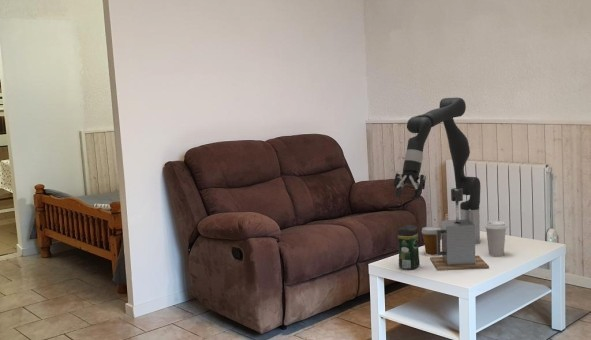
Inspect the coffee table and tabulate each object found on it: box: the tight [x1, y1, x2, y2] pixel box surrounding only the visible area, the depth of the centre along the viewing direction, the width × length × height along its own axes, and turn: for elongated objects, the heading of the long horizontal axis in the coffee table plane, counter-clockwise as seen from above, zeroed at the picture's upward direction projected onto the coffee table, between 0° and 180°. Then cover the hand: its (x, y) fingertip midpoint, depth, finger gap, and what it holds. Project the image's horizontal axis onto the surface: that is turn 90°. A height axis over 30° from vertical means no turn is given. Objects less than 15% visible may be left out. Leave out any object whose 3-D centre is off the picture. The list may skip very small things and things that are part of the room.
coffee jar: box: [397, 224, 421, 270], centre depth 271 cm, size 10×8×19 cm
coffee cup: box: [484, 220, 508, 257], centre depth 284 cm, size 10×10×15 cm
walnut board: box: [429, 255, 490, 271], centre depth 273 cm, size 18×22×1 cm
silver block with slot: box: [436, 219, 476, 266], centre depth 272 cm, size 12×15×18 cm
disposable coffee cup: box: [421, 226, 442, 256], centre depth 292 cm, size 10×10×12 cm
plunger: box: [450, 187, 464, 223], centre depth 270 cm, size 8×8×20 cm
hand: (406, 197), depth 265 cm, fingers open, 8 cm apart
